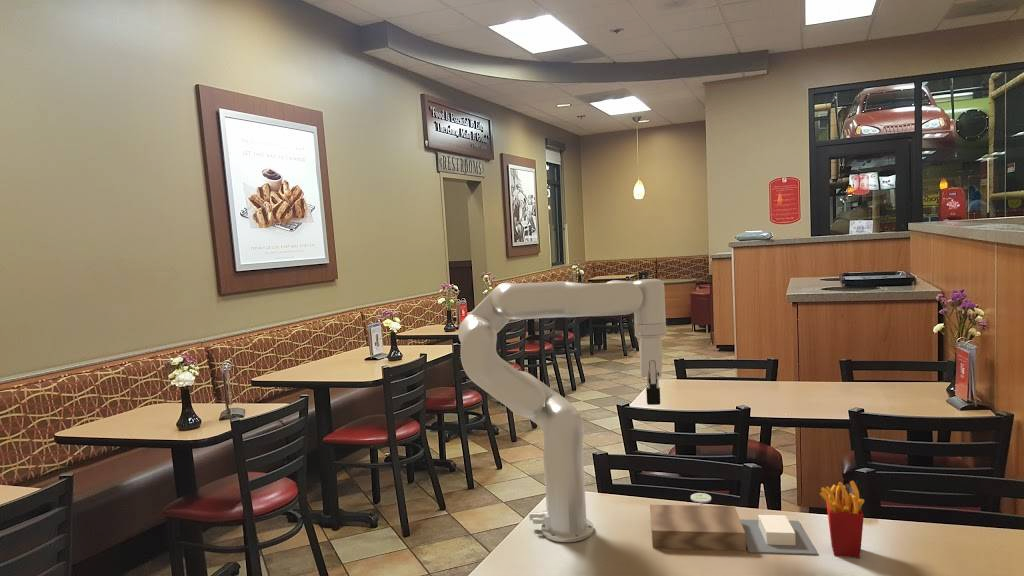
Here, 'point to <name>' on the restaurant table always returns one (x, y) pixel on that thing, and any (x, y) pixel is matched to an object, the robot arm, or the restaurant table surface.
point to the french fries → (844, 520)
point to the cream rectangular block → (776, 530)
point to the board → (696, 527)
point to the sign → (701, 498)
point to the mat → (758, 545)
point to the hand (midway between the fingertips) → (653, 403)
